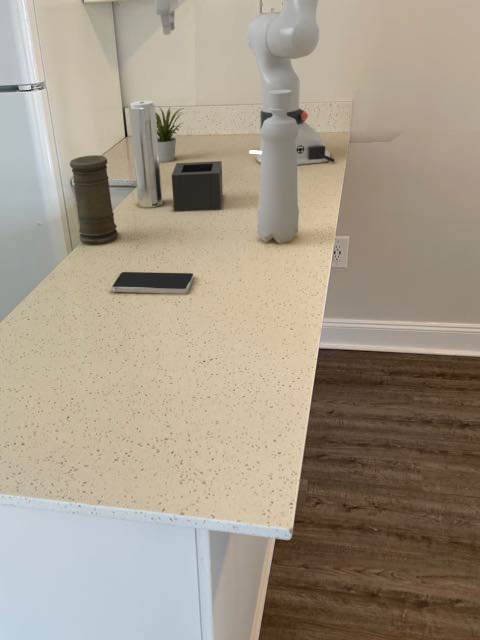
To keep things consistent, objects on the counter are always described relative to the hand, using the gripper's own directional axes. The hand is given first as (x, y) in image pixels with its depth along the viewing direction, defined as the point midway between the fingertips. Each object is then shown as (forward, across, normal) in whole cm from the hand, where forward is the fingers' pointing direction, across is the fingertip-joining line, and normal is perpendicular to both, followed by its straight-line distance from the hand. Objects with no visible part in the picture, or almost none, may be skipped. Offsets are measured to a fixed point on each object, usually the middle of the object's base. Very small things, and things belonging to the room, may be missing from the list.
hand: (169, 32), depth 171 cm
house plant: (+39, +31, +7) cm, 50 cm away
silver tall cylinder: (+38, -17, +7) cm, 42 cm away
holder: (+38, -18, -6) cm, 43 cm away
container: (+38, -43, +16) cm, 59 cm away
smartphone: (+37, -72, -1) cm, 81 cm away
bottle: (+38, -48, -26) cm, 66 cm away
